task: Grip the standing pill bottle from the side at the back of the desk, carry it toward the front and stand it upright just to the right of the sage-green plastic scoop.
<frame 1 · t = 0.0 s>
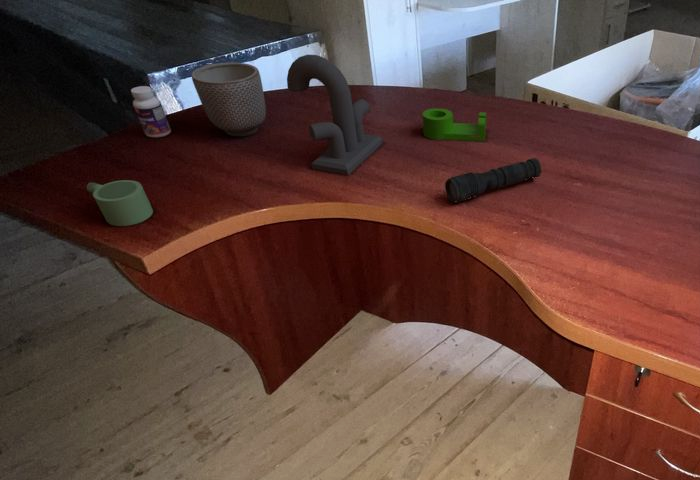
planter: (242, 131, 127), on the table
pill bottle: (159, 134, 124), on the table
tape dispenser: (454, 134, 131), on the table
scoop: (129, 215, 98), on the table
faucet: (334, 153, 121), on the table
flashlight: (494, 191, 111), on the table
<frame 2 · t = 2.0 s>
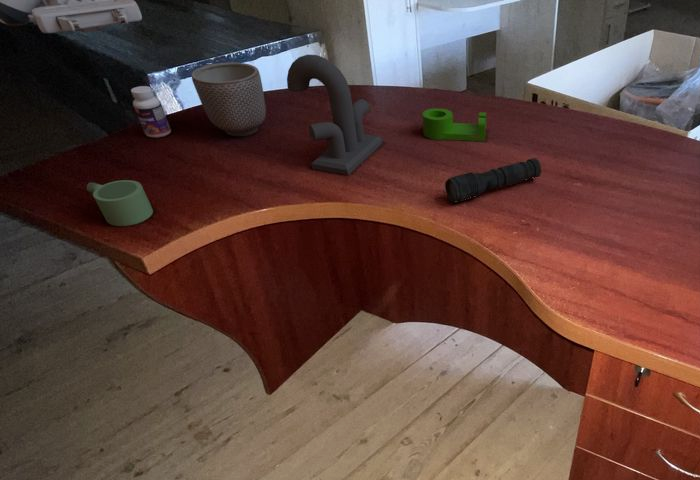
hand: (100, 23, 116), 20 cm above the table, tool horizontal, fingers open, 8 cm apart
nothing on the table moved.
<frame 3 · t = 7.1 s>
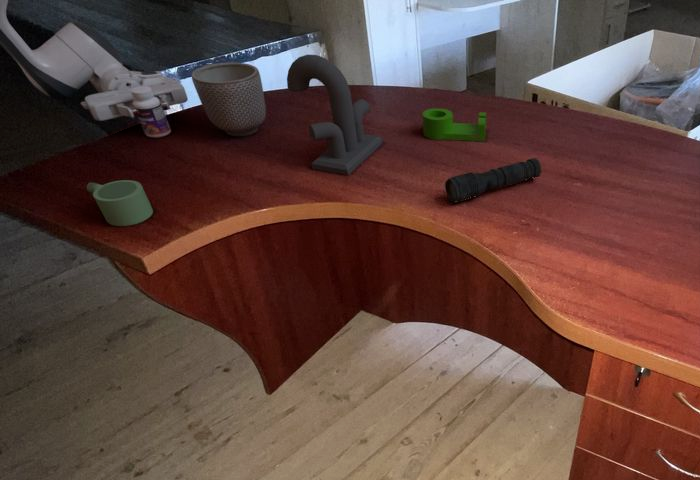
hand: (150, 110, 119), 6 cm above the table, tool horizontal, fingers closed on pill bottle, 5 cm apart
pill bottle: (159, 134, 124), on the table, touching gripper
everything else where it was.
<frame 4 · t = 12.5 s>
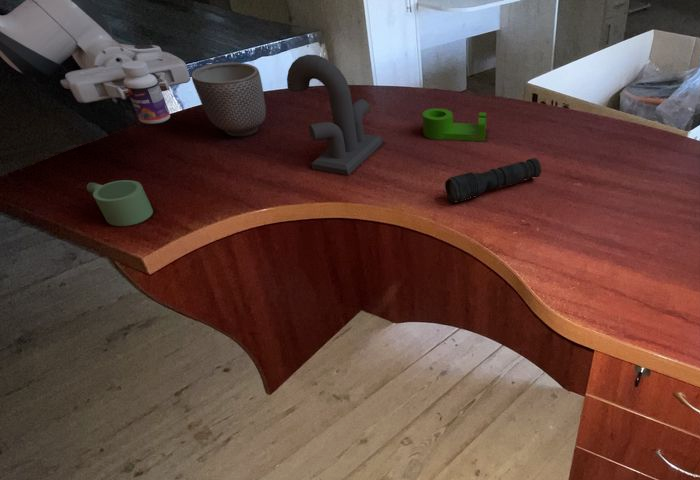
hand: (145, 90, 98), 17 cm above the table, tool horizontal, fingers closed on pill bottle, 5 cm apart
pill bottle: (155, 119, 103), point 11 cm above the table, touching gripper
everything else where it was.
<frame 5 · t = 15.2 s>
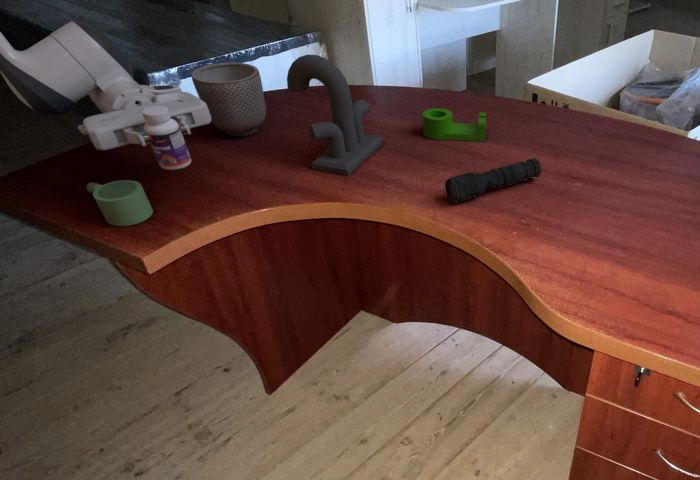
hand: (166, 135, 94), 13 cm above the table, tool horizontal, fingers closed on pill bottle, 5 cm apart
pill bottle: (176, 164, 98), point 7 cm above the table, touching gripper
everything else where it was.
when the fingers open (5 cm above the table, at t = 17.7 s): pill bottle stays where it is, on the table.
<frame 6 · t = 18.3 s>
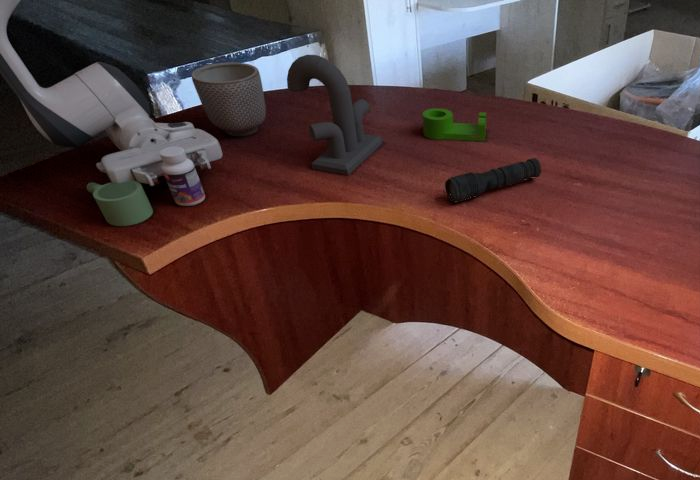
hand: (180, 173, 99), 6 cm above the table, tool horizontal, fingers open, 8 cm apart
pill bottle: (191, 200, 103), on the table
everything else where it was.
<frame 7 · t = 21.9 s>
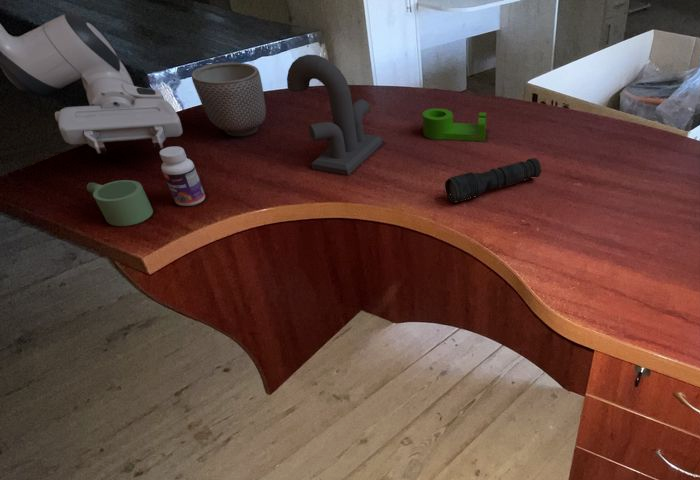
hand: (130, 147, 103), 7 cm above the table, tool horizontal, fingers open, 8 cm apart
nothing on the table moved.
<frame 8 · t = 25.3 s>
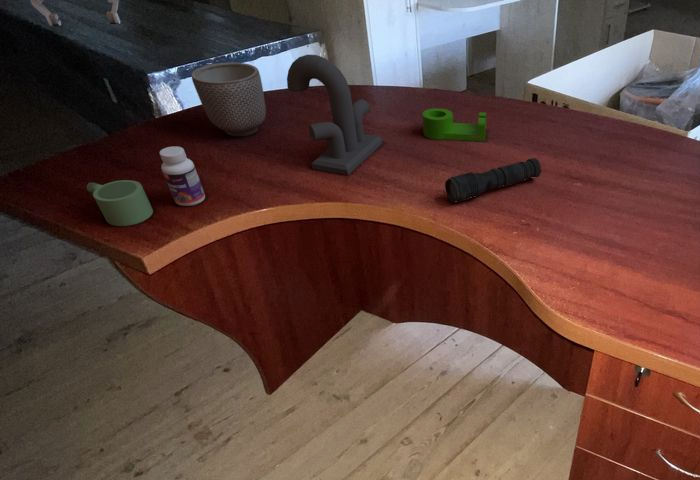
hand: (86, 24, 98), 25 cm above the table, tool pointing down, fingers open, 8 cm apart
nothing on the table moved.
at the end: pill bottle inside the target area on the table beside the scoop (0.9 cm from its centre), on the table; pill bottle tilted 0°; the gripper is holding nothing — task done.
